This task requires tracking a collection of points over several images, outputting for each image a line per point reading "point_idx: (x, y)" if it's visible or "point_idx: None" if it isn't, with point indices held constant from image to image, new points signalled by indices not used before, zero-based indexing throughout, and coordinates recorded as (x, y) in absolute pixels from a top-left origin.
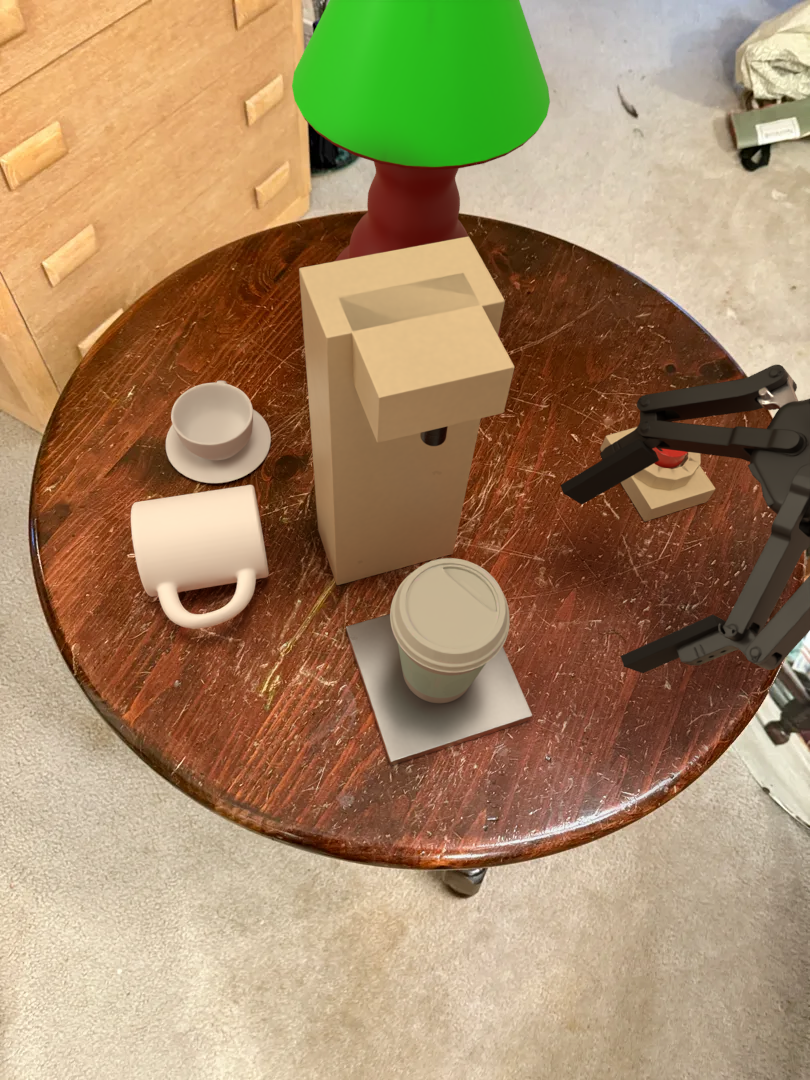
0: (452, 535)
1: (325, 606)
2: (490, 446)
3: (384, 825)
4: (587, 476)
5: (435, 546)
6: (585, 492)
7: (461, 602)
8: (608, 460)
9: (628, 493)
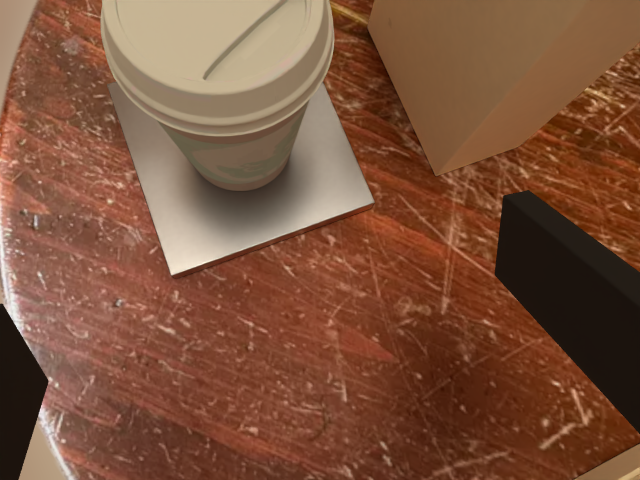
0: (451, 146)
1: (335, 15)
2: (637, 236)
3: (36, 89)
4: (559, 233)
5: (433, 132)
6: (519, 259)
7: (222, 14)
8: (627, 275)
9: (594, 470)
